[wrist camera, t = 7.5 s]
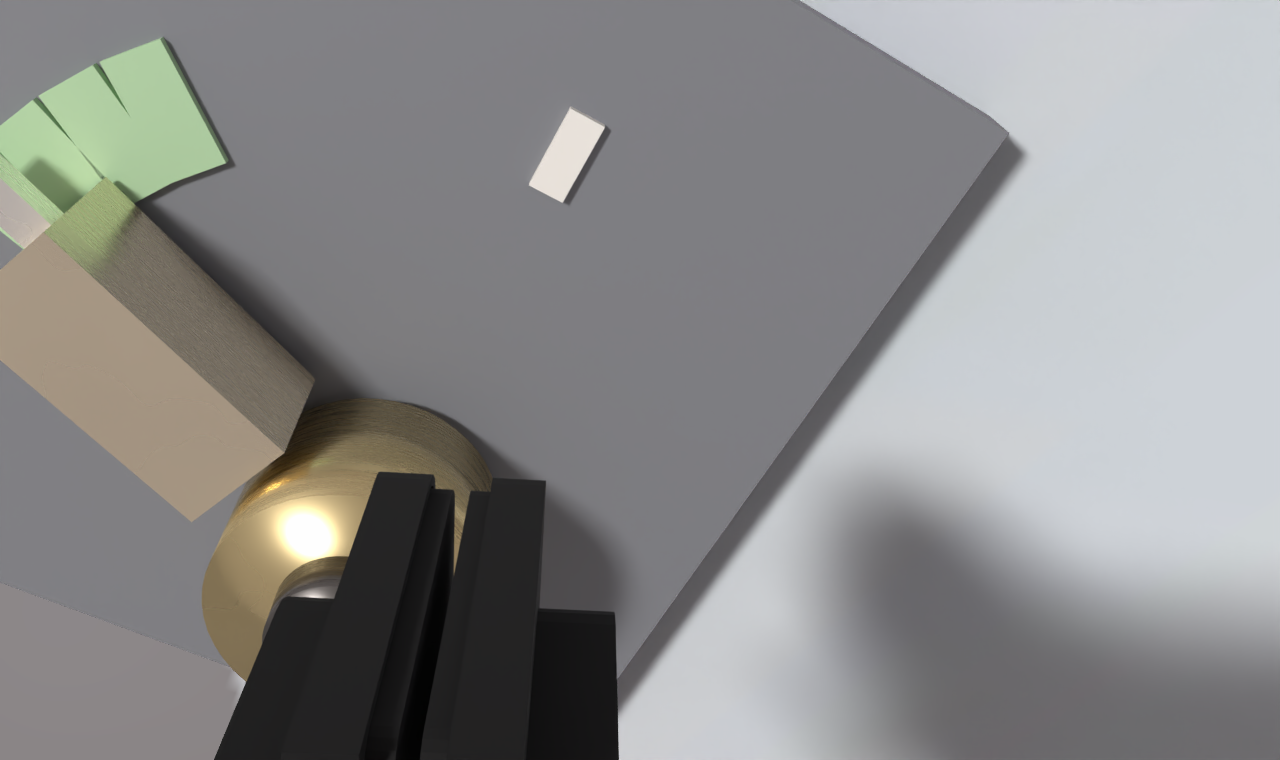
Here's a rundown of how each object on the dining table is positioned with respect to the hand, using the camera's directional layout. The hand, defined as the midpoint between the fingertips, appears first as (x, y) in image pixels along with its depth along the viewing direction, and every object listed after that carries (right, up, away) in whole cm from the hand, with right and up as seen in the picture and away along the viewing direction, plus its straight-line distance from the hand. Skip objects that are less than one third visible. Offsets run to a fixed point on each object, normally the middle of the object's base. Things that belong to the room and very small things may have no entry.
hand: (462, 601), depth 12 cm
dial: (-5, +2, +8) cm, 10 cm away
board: (-4, +4, +8) cm, 10 cm away
